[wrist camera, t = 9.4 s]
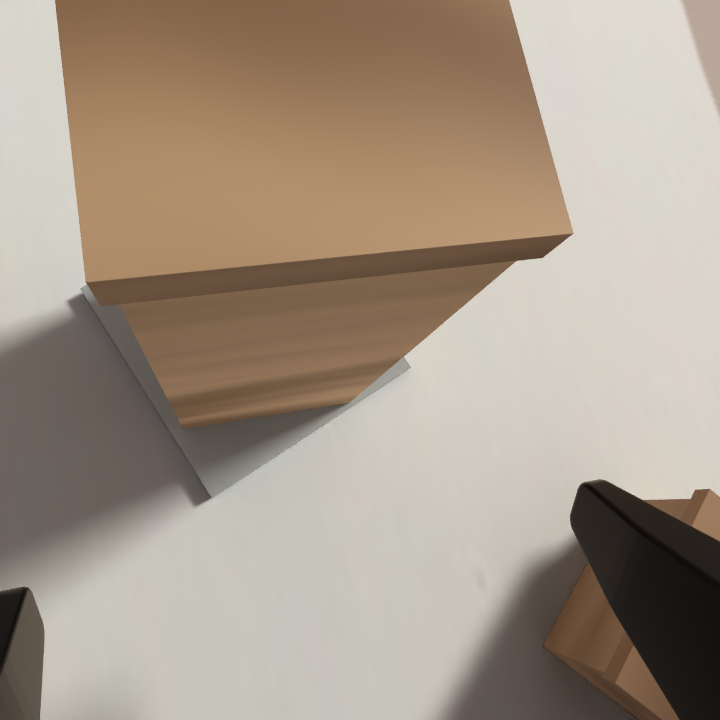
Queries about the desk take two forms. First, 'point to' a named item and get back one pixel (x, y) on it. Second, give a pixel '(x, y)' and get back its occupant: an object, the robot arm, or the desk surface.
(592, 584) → the walnut trinket box
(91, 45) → the oak tea canister
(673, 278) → the desk surface
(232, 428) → the coaster
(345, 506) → the desk surface
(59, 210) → the desk surface
